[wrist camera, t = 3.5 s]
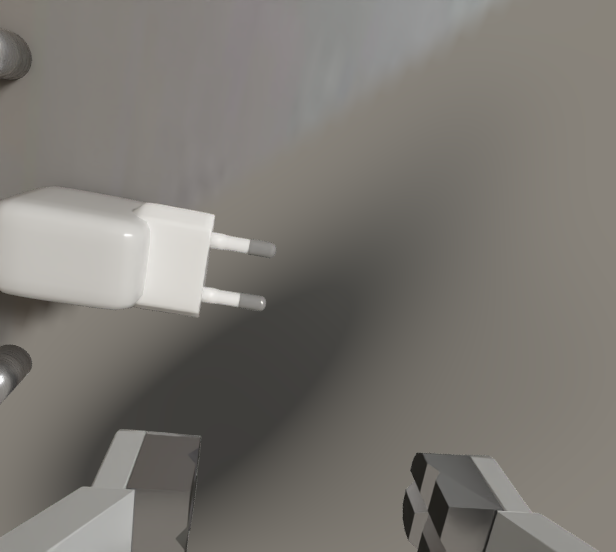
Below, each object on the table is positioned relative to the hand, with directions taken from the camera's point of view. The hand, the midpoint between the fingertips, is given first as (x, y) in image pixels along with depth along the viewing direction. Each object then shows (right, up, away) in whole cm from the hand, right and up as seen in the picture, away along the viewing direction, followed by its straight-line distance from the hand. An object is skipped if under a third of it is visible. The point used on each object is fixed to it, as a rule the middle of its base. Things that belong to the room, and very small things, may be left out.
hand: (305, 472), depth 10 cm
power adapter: (-7, +6, +16) cm, 18 cm away
